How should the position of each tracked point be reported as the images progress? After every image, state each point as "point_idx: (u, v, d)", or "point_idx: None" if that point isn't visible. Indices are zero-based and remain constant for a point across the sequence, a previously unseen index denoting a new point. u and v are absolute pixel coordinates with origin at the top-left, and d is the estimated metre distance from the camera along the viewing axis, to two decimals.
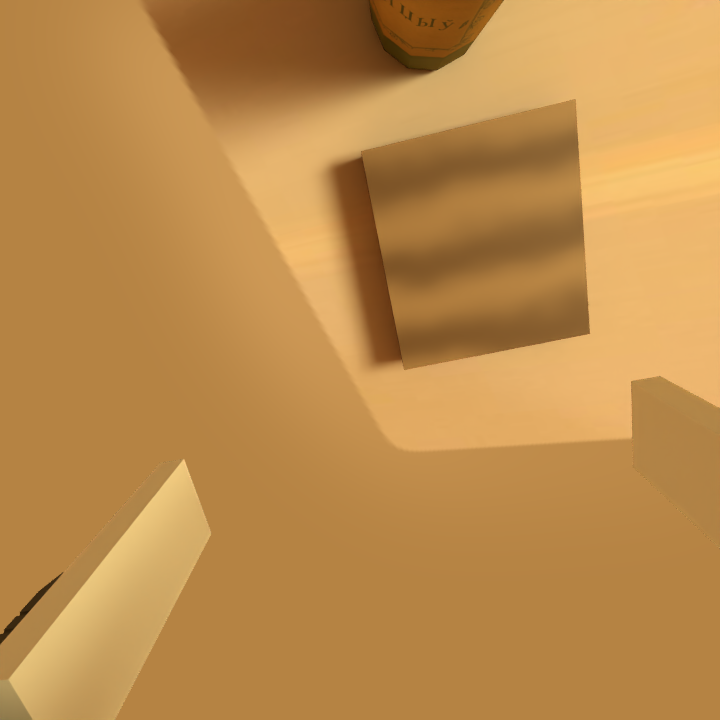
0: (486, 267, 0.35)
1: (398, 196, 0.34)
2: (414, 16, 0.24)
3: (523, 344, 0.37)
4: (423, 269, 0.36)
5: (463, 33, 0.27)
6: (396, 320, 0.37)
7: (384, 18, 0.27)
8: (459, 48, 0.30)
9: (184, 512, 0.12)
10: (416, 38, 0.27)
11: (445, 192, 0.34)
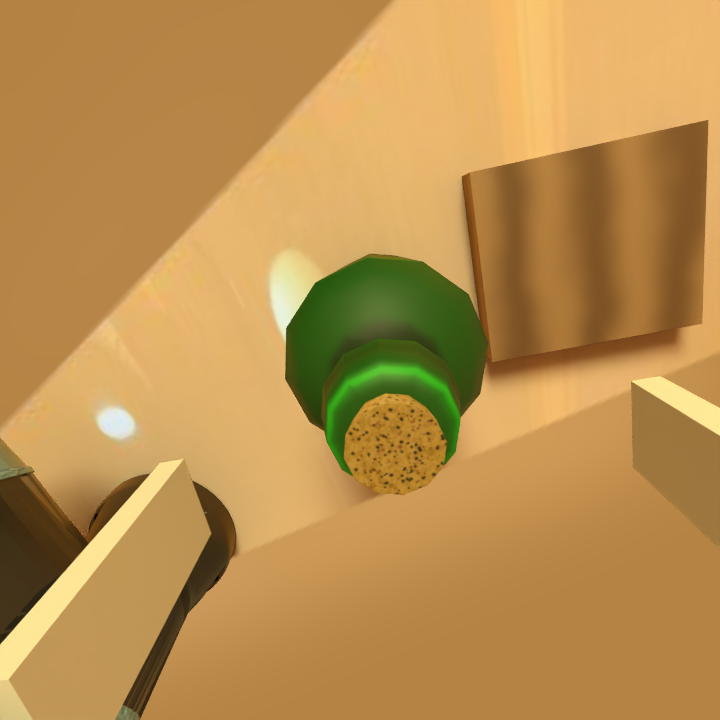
0: (611, 245, 0.35)
1: (533, 331, 0.38)
2: None
3: (703, 197, 0.34)
4: (602, 306, 0.37)
5: None
6: (647, 331, 0.38)
7: None
8: None
9: (184, 512, 0.12)
10: None
11: (535, 289, 0.37)
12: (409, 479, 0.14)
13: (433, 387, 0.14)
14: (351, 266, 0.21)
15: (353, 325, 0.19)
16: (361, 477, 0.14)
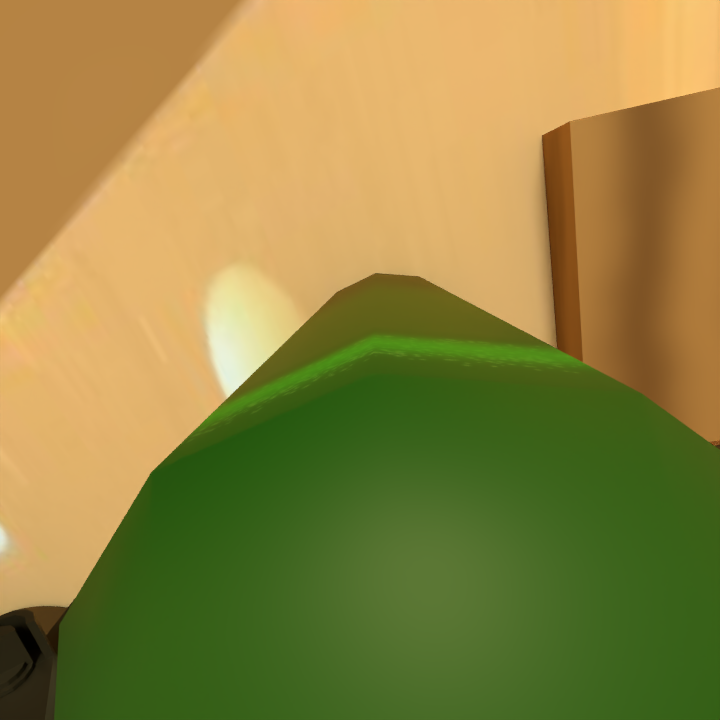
0: None
1: None
2: None
3: None
4: None
5: None
6: None
7: None
8: None
9: None
10: None
11: (676, 339, 0.20)
12: None
13: None
14: (305, 412, 0.04)
15: None
16: None
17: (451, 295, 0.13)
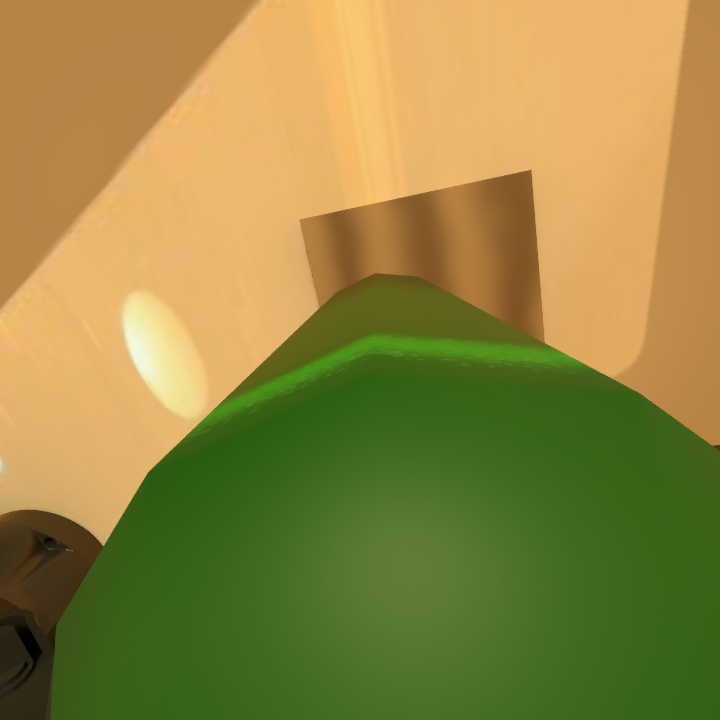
0: (448, 291, 0.35)
1: None
2: None
3: (534, 245, 0.34)
4: None
5: None
6: None
7: None
8: None
9: None
10: None
11: None
12: None
13: None
14: (302, 412, 0.04)
15: None
16: None
17: (450, 295, 0.13)
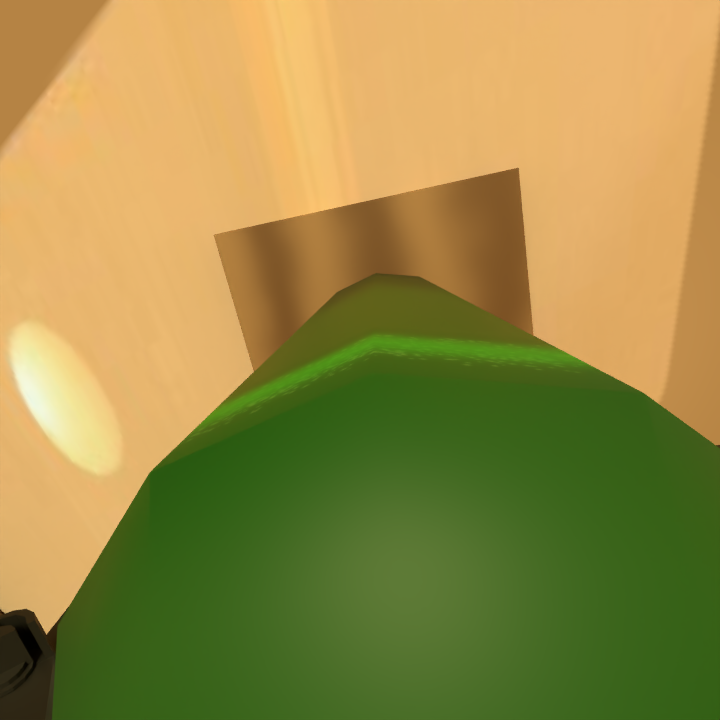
0: None
1: None
2: None
3: (523, 267, 0.26)
4: None
5: None
6: None
7: None
8: None
9: None
10: None
11: None
12: None
13: None
14: (304, 412, 0.04)
15: None
16: None
17: (451, 295, 0.13)
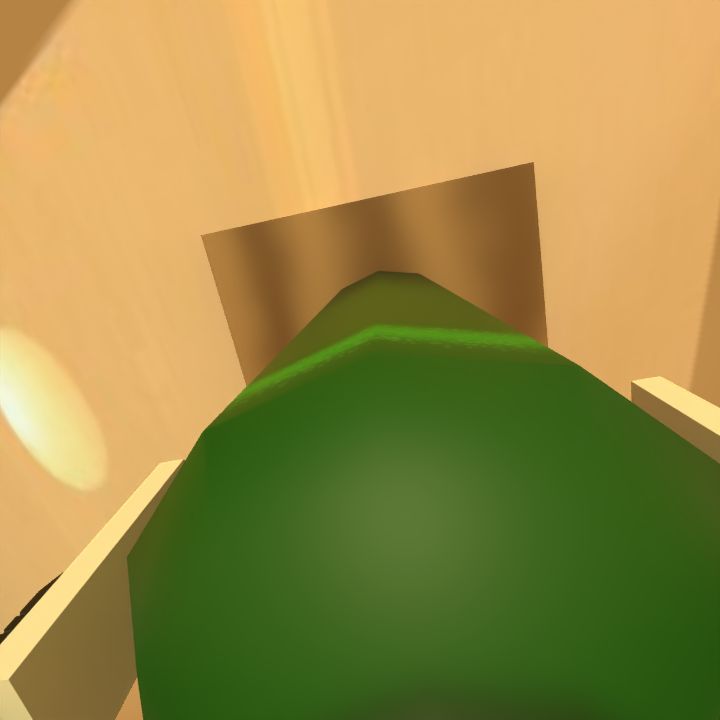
0: None
1: None
2: None
3: (538, 270, 0.24)
4: None
5: None
6: None
7: None
8: None
9: None
10: None
11: None
12: None
13: None
14: (322, 383, 0.06)
15: (321, 694, 0.04)
16: None
17: (446, 291, 0.15)
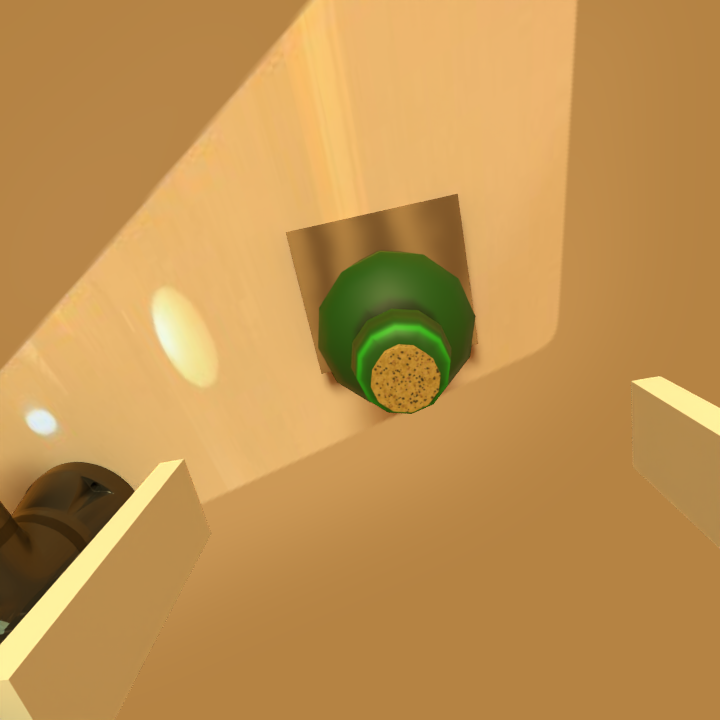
0: None
1: None
2: None
3: (463, 249, 0.45)
4: None
5: None
6: None
7: None
8: None
9: (184, 512, 0.12)
10: None
11: None
12: (415, 401, 0.20)
13: (431, 339, 0.21)
14: (368, 259, 0.27)
15: (372, 302, 0.26)
16: (382, 400, 0.20)
17: (407, 252, 0.36)
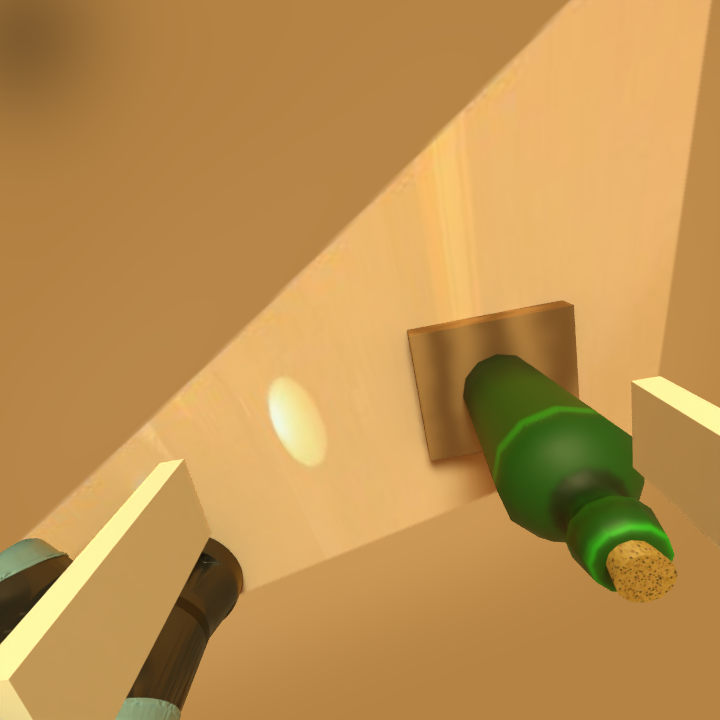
0: None
1: (459, 440, 0.52)
2: None
3: (574, 353, 0.48)
4: None
5: None
6: None
7: None
8: None
9: (184, 512, 0.12)
10: None
11: (459, 412, 0.51)
12: (651, 594, 0.23)
13: (661, 537, 0.24)
14: (555, 422, 0.30)
15: (569, 470, 0.29)
16: (622, 593, 0.24)
17: (549, 379, 0.39)
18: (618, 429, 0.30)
